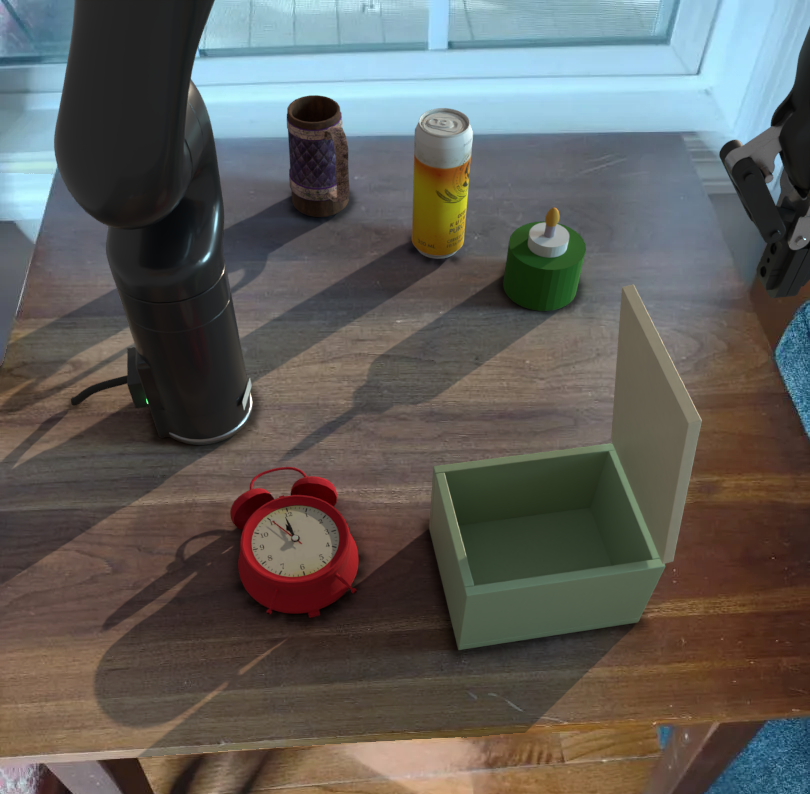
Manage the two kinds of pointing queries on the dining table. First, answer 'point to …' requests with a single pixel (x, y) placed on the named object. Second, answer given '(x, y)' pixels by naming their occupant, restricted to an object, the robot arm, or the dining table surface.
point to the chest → (540, 545)
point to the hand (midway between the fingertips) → (776, 288)
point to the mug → (317, 156)
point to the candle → (544, 264)
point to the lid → (652, 424)
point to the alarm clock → (294, 546)
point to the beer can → (441, 181)
